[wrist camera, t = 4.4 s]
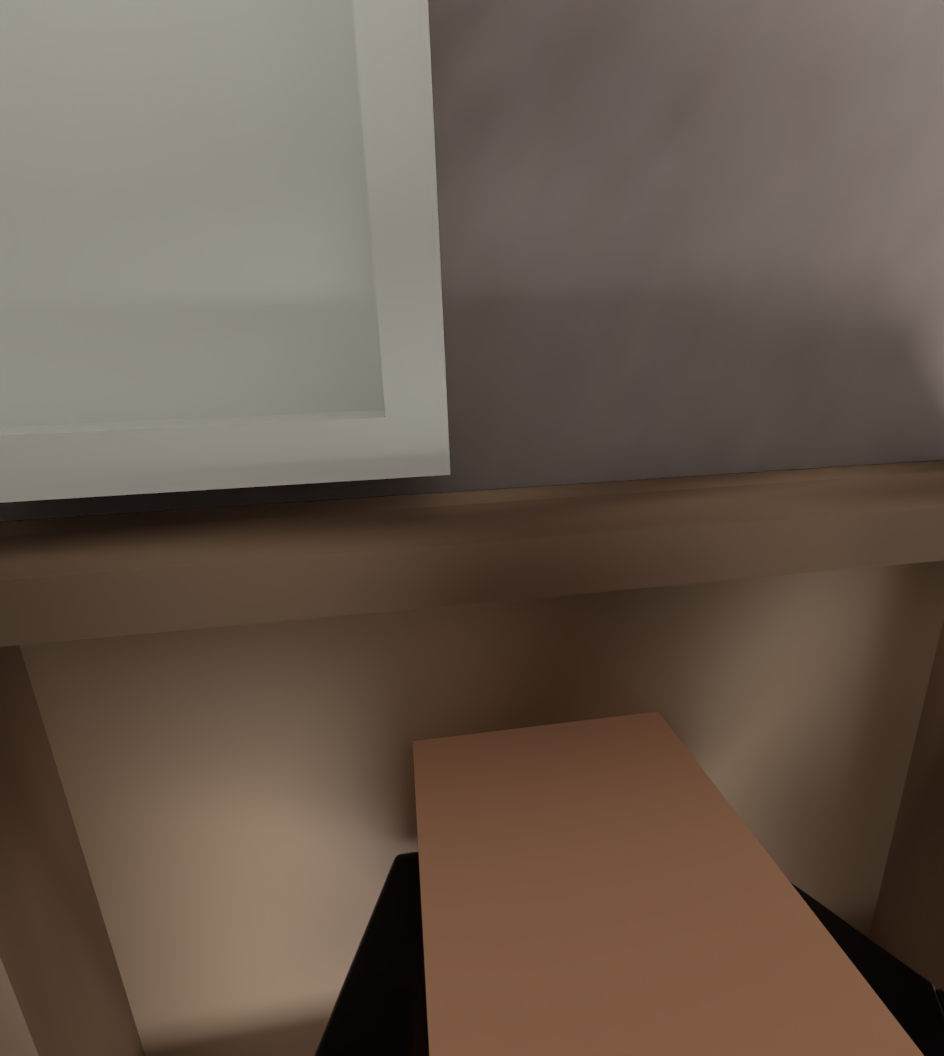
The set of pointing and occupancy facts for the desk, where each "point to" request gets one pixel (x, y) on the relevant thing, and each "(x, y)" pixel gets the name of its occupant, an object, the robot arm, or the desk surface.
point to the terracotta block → (617, 908)
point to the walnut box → (433, 719)
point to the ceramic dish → (217, 246)
